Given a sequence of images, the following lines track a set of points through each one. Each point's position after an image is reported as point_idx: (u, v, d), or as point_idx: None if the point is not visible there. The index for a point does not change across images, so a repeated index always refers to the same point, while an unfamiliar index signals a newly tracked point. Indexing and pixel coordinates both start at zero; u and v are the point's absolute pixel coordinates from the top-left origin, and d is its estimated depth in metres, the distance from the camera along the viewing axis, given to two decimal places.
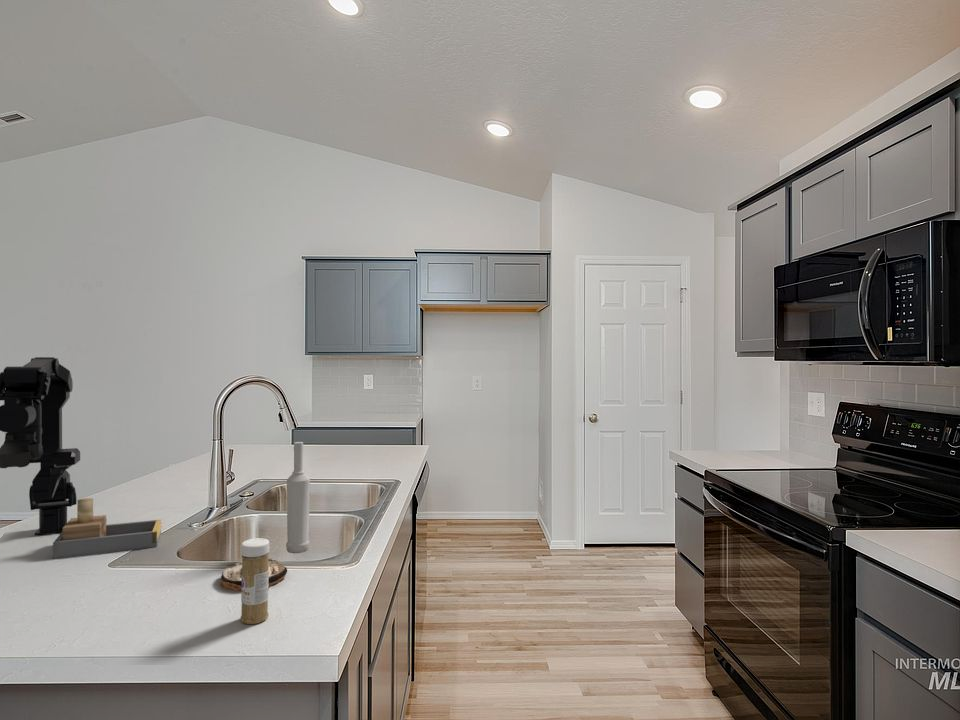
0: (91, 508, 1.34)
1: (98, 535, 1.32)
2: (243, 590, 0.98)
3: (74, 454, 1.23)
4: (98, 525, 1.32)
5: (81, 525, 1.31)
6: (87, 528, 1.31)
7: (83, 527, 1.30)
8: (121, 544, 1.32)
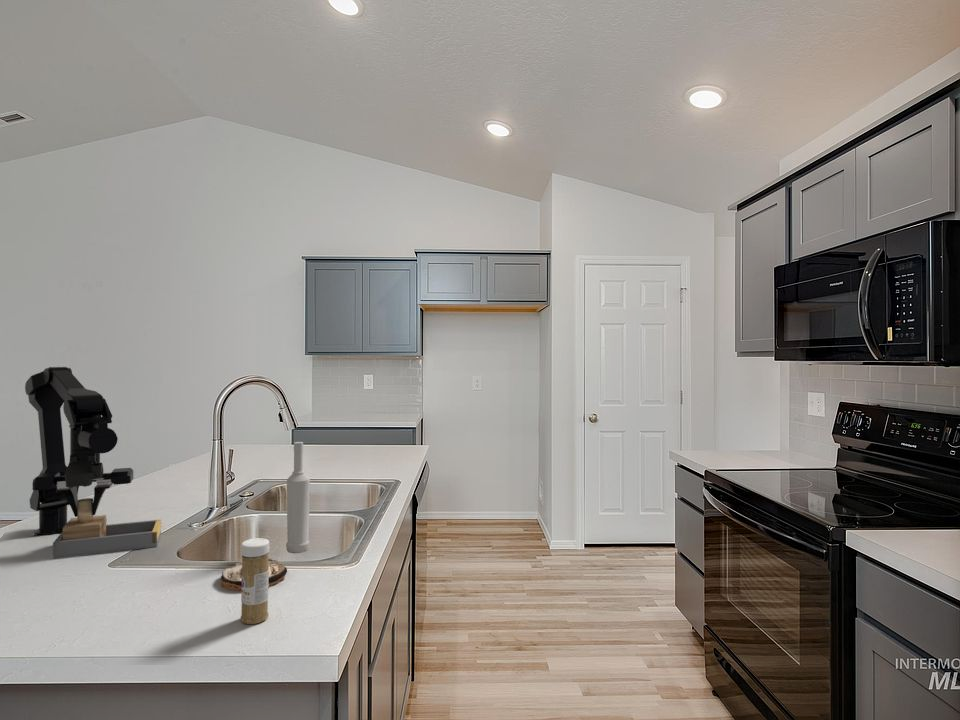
0: (91, 508, 1.34)
1: (98, 535, 1.32)
2: (243, 590, 0.98)
3: (130, 473, 1.36)
4: (98, 525, 1.32)
5: (81, 525, 1.31)
6: (87, 528, 1.31)
7: (83, 527, 1.30)
8: (121, 544, 1.32)
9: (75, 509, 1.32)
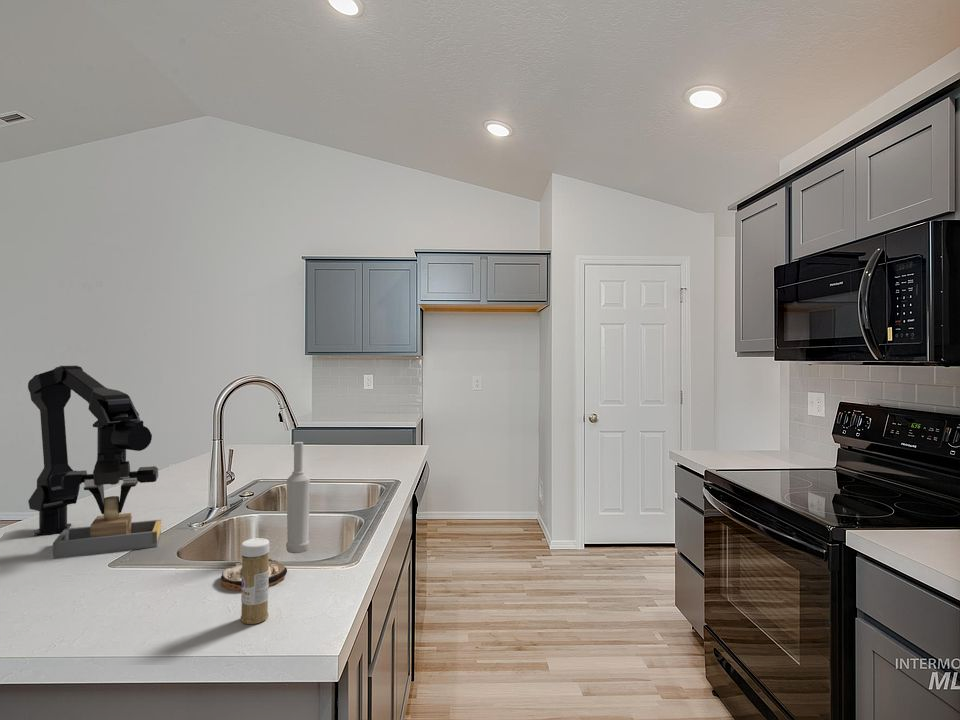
0: (117, 506, 1.36)
1: (125, 532, 1.34)
2: (243, 590, 0.98)
3: (155, 472, 1.38)
4: (125, 522, 1.34)
5: (108, 522, 1.33)
6: (114, 525, 1.33)
7: (110, 524, 1.32)
8: (121, 544, 1.32)
9: (102, 507, 1.34)
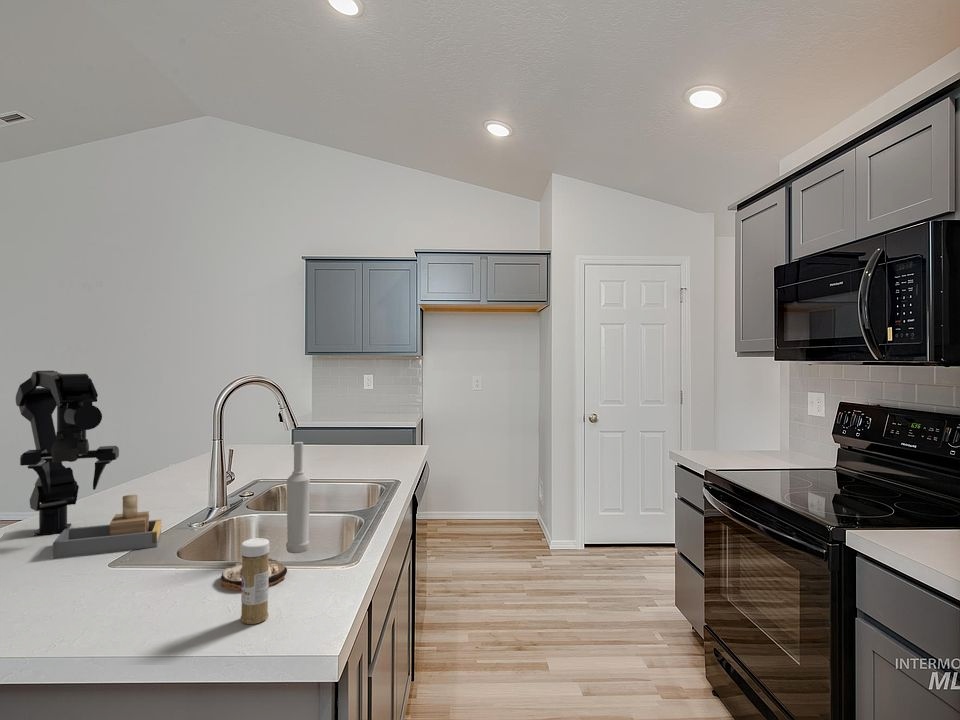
0: (136, 504, 1.37)
1: (143, 530, 1.35)
2: (243, 590, 0.98)
3: (115, 450, 1.40)
4: (143, 521, 1.35)
5: (127, 521, 1.34)
6: (133, 524, 1.34)
7: (129, 523, 1.34)
8: (121, 544, 1.32)
9: (47, 485, 1.36)
